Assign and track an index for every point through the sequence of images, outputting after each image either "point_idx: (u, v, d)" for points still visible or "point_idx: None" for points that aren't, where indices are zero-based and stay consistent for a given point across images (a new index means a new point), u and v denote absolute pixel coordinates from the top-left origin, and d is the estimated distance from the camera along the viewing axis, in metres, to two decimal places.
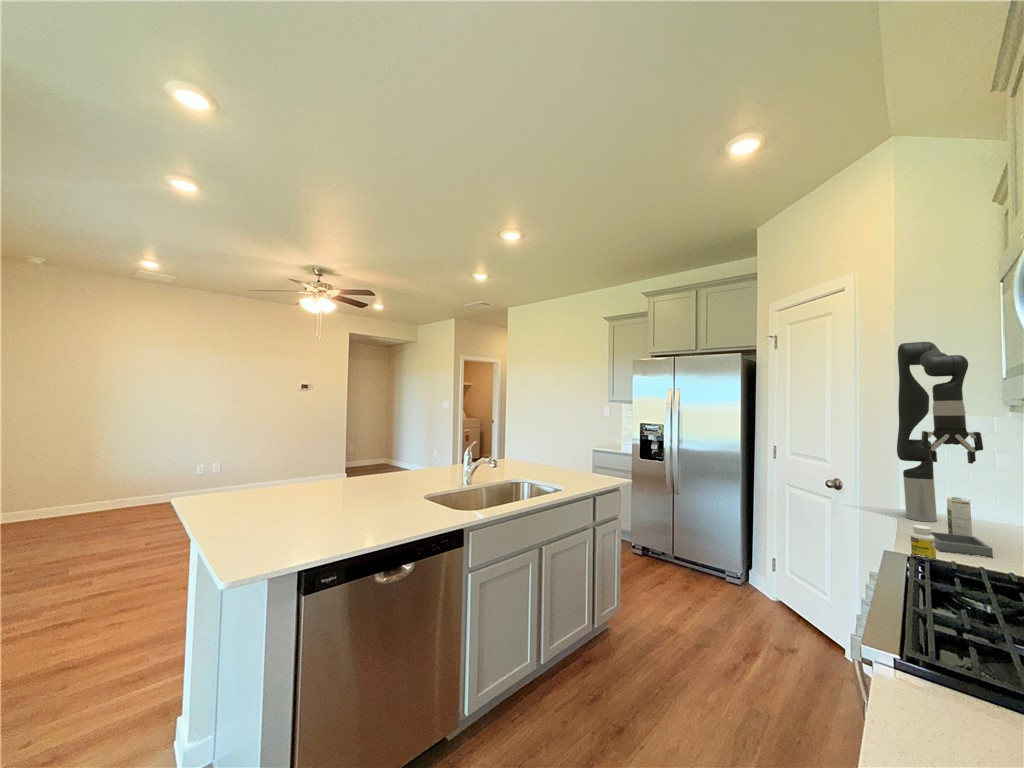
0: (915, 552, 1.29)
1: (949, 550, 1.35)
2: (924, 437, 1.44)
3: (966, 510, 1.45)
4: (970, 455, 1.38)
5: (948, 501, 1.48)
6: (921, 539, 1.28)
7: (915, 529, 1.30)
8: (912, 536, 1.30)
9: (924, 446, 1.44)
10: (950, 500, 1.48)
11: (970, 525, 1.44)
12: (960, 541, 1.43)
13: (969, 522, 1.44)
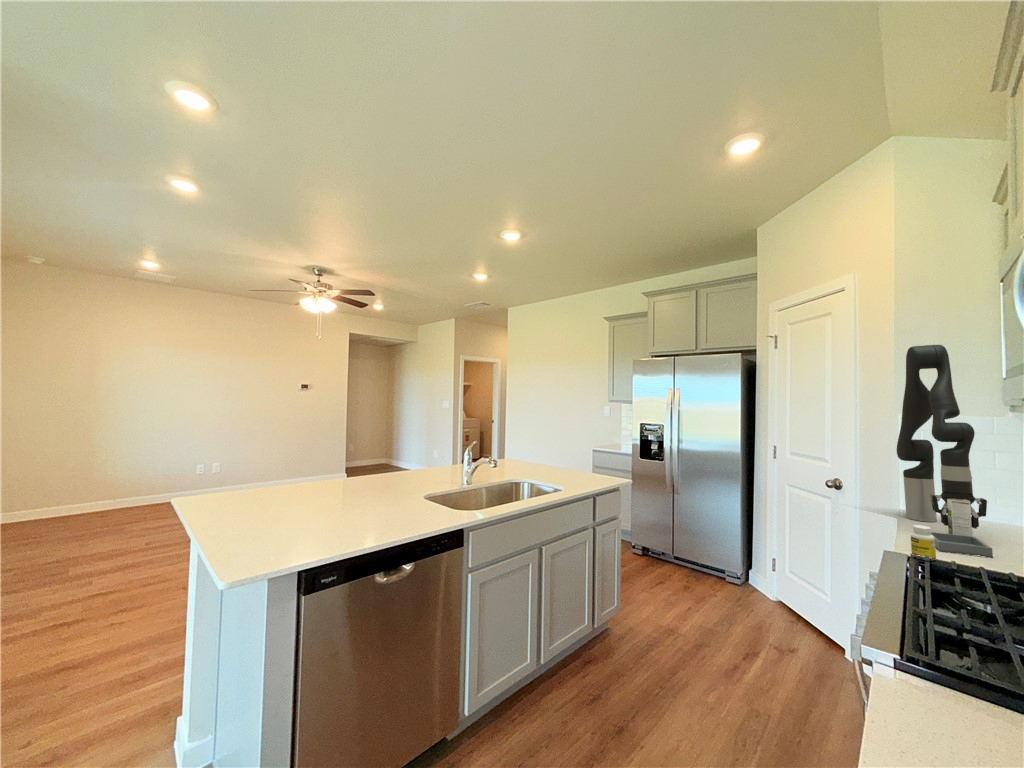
0: (915, 552, 1.29)
1: (949, 550, 1.35)
2: (934, 501, 1.51)
3: (966, 510, 1.45)
4: (974, 520, 1.45)
5: (948, 501, 1.48)
6: (921, 539, 1.28)
7: (915, 529, 1.30)
8: (912, 536, 1.30)
9: (935, 510, 1.50)
10: (950, 500, 1.48)
11: (970, 525, 1.44)
12: (960, 541, 1.43)
13: (969, 522, 1.44)
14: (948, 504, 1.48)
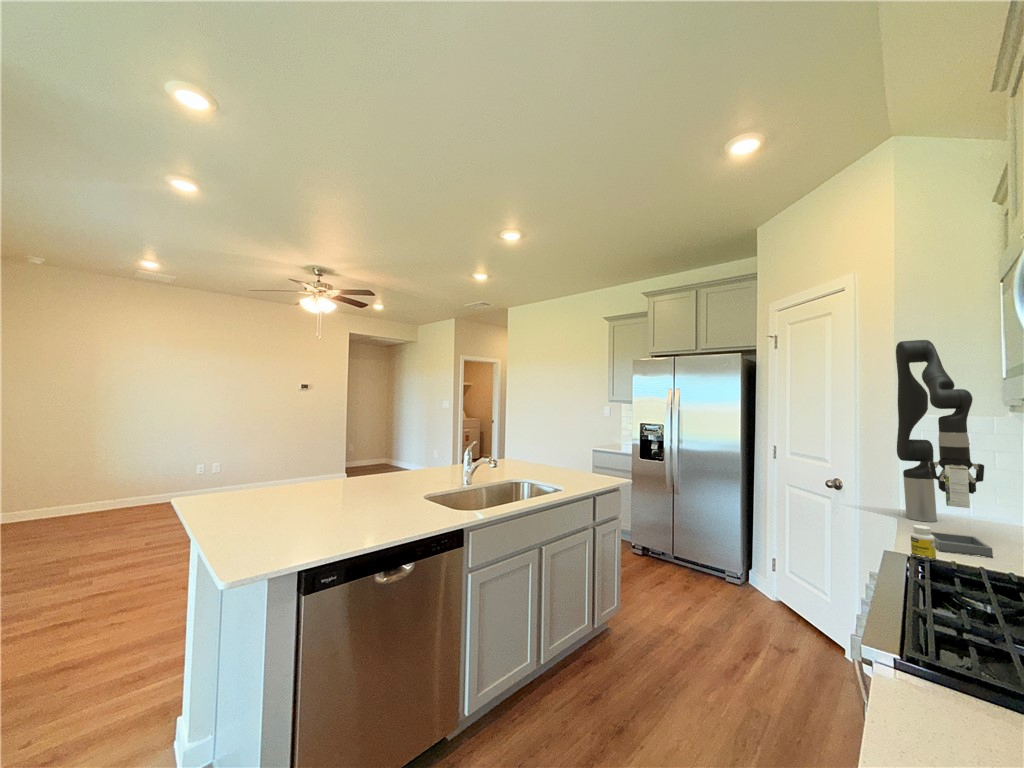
0: (915, 552, 1.29)
1: (949, 550, 1.35)
2: (931, 468, 1.52)
3: (963, 475, 1.46)
4: (971, 486, 1.46)
5: (946, 467, 1.49)
6: (921, 539, 1.28)
7: (915, 529, 1.30)
8: (912, 536, 1.30)
9: (933, 476, 1.51)
10: (948, 466, 1.49)
11: (967, 490, 1.45)
12: (960, 541, 1.43)
13: (966, 487, 1.45)
14: (946, 470, 1.49)
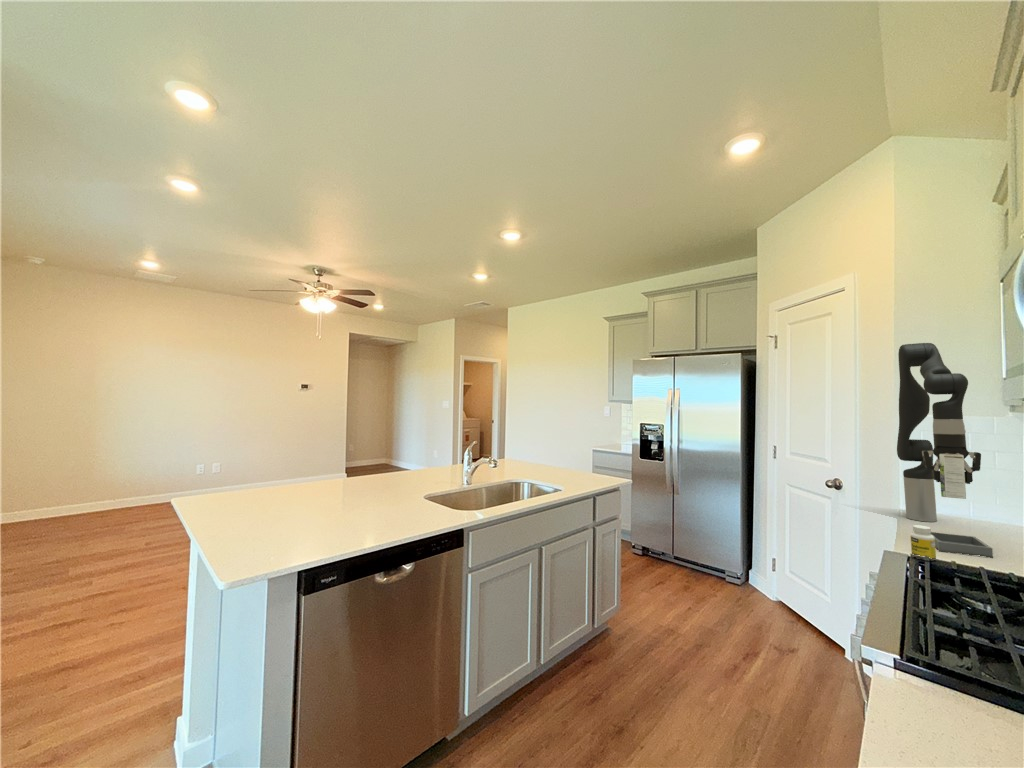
0: (915, 552, 1.29)
1: (949, 550, 1.35)
2: (925, 457, 1.43)
3: (959, 464, 1.37)
4: (967, 475, 1.38)
5: (940, 456, 1.41)
6: (921, 539, 1.28)
7: (915, 529, 1.30)
8: (912, 536, 1.30)
9: (927, 466, 1.43)
10: (942, 455, 1.40)
11: (963, 480, 1.37)
12: (960, 541, 1.43)
13: (962, 477, 1.37)
14: (940, 459, 1.41)
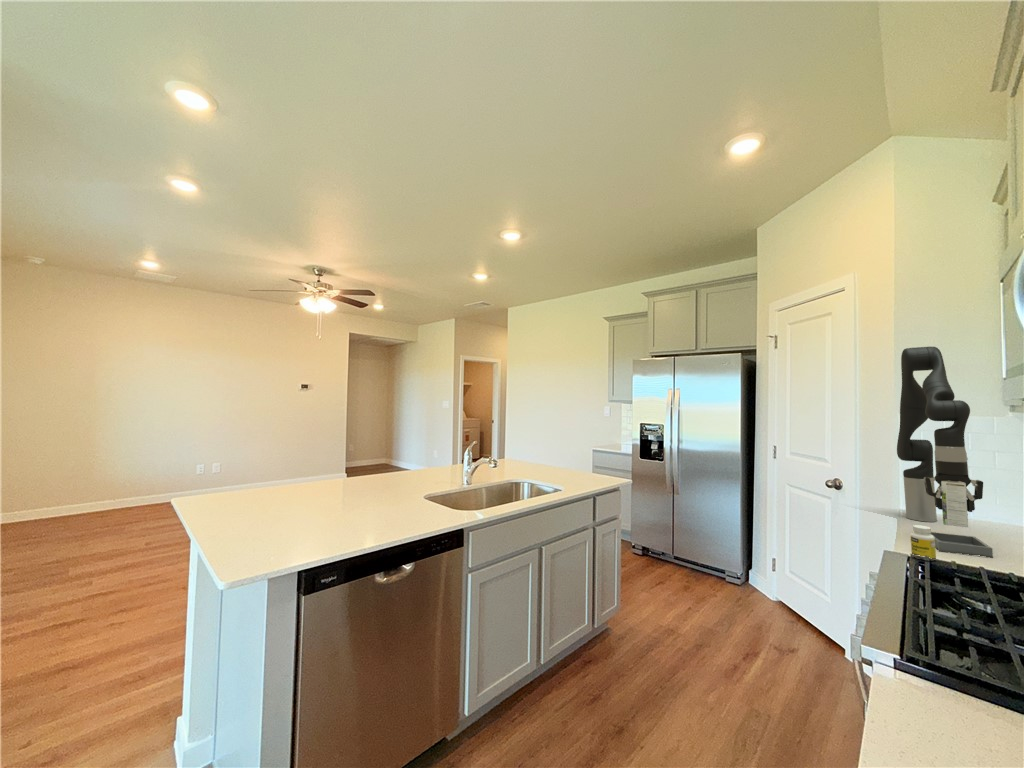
0: (915, 552, 1.29)
1: (949, 550, 1.35)
2: (927, 484, 1.43)
3: (961, 492, 1.37)
4: (969, 503, 1.37)
5: (942, 483, 1.40)
6: (921, 539, 1.28)
7: (915, 529, 1.30)
8: (912, 536, 1.30)
9: (929, 493, 1.42)
10: (944, 482, 1.40)
11: (965, 508, 1.36)
12: (960, 541, 1.43)
13: (964, 505, 1.36)
14: (942, 486, 1.40)
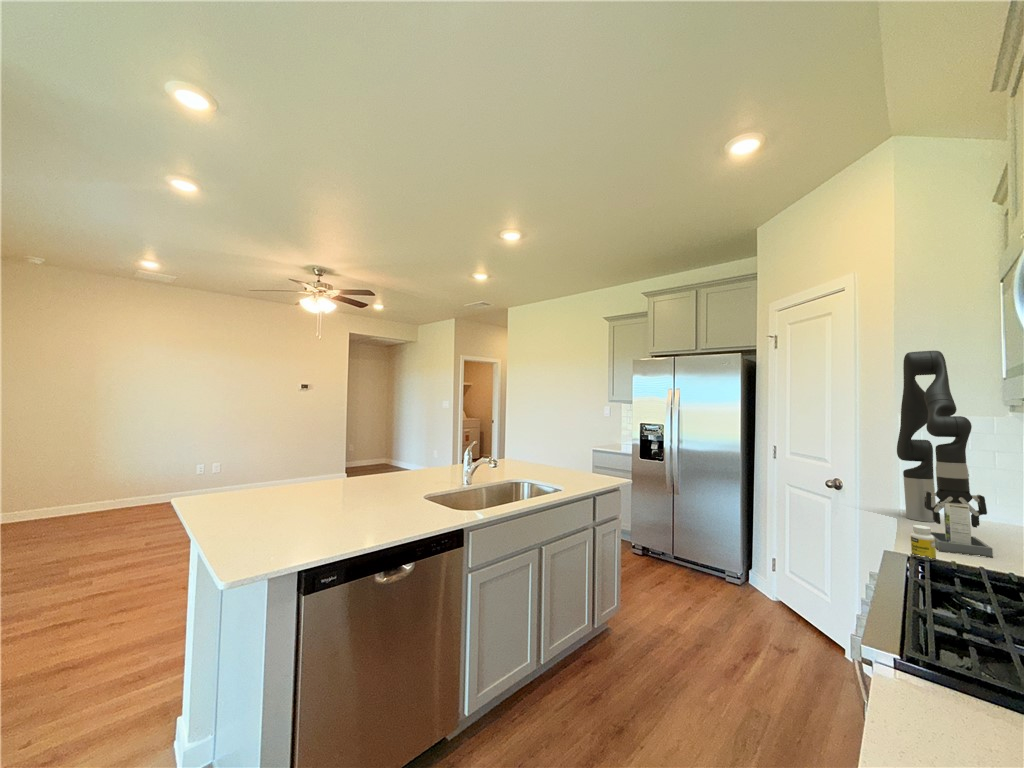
0: (915, 552, 1.29)
1: (949, 550, 1.35)
2: (927, 498, 1.42)
3: (965, 514, 1.36)
4: (974, 519, 1.36)
5: (946, 505, 1.39)
6: (921, 539, 1.28)
7: (915, 529, 1.30)
8: (912, 536, 1.30)
9: (927, 507, 1.42)
10: (948, 504, 1.39)
11: (969, 531, 1.35)
12: None
13: (968, 527, 1.36)
14: (946, 508, 1.39)
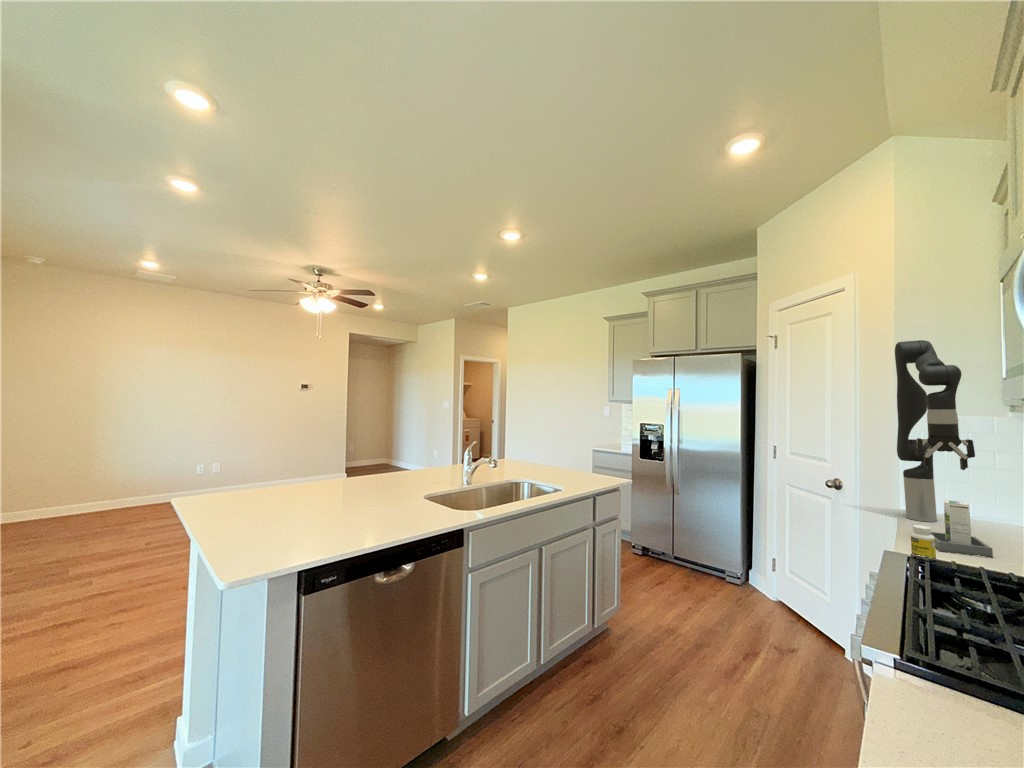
0: (915, 552, 1.29)
1: (949, 550, 1.35)
2: (918, 444, 1.49)
3: (965, 514, 1.36)
4: (962, 462, 1.43)
5: (946, 505, 1.39)
6: (921, 539, 1.28)
7: (915, 529, 1.30)
8: (912, 536, 1.30)
9: (918, 453, 1.49)
10: (948, 504, 1.39)
11: (969, 531, 1.35)
12: None
13: (968, 527, 1.36)
14: (946, 508, 1.39)
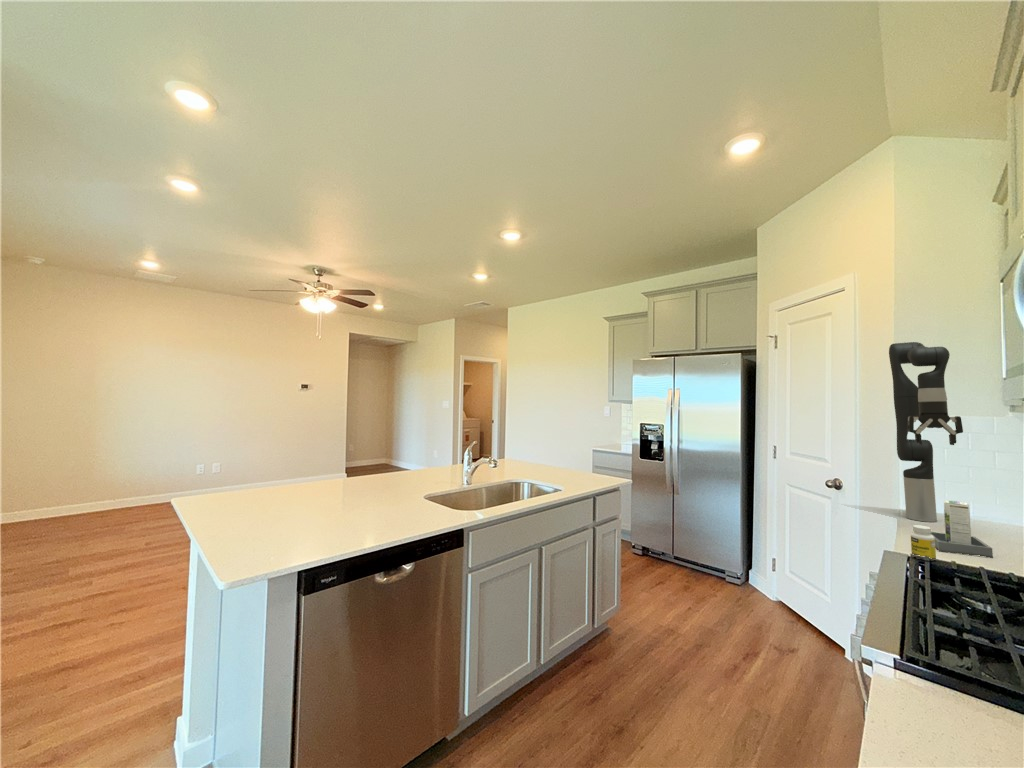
0: (915, 552, 1.29)
1: (949, 550, 1.35)
2: (910, 421, 1.57)
3: (965, 514, 1.36)
4: (951, 437, 1.51)
5: (946, 505, 1.39)
6: (921, 539, 1.28)
7: (915, 529, 1.30)
8: (912, 536, 1.30)
9: (910, 430, 1.57)
10: (948, 504, 1.39)
11: (969, 531, 1.35)
12: None
13: (968, 527, 1.36)
14: (946, 508, 1.39)
